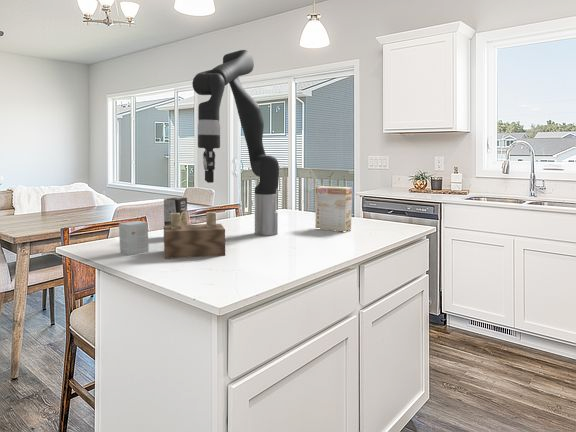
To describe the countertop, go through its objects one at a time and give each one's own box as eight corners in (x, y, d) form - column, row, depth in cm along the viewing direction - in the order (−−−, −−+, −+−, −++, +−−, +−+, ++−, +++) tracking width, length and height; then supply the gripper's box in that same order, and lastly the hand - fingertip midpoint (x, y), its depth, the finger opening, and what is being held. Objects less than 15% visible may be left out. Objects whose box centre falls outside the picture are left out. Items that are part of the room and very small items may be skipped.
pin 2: (215, 234, 162) (214, 211, 160) (216, 235, 159) (215, 212, 158) (206, 234, 161) (206, 212, 160) (207, 236, 158) (207, 213, 157)
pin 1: (180, 235, 158) (179, 212, 157) (180, 237, 156) (180, 214, 154) (171, 236, 158) (170, 213, 156) (171, 237, 155) (170, 214, 154)
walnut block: (220, 247, 167) (220, 223, 166) (225, 255, 156) (225, 229, 155) (164, 250, 162) (163, 225, 161) (164, 258, 151) (163, 231, 149)
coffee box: (179, 240, 181) (178, 199, 179) (164, 239, 183) (162, 199, 180) (188, 236, 190) (187, 197, 188) (174, 235, 191) (173, 196, 189)
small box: (138, 249, 164) (137, 220, 163) (149, 251, 161) (148, 221, 160) (119, 253, 158) (118, 223, 156) (129, 255, 155) (128, 224, 153)
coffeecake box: (351, 230, 206) (352, 187, 204) (344, 232, 200) (345, 188, 198) (322, 227, 214) (323, 185, 211) (314, 229, 208) (315, 186, 206)
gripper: (222, 133, 150) (222, 183, 152) (217, 135, 163) (218, 180, 165) (199, 132, 148) (199, 183, 150) (196, 134, 161) (196, 180, 164)
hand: (209, 181), depth 158 cm, fingers open, 8 cm apart
